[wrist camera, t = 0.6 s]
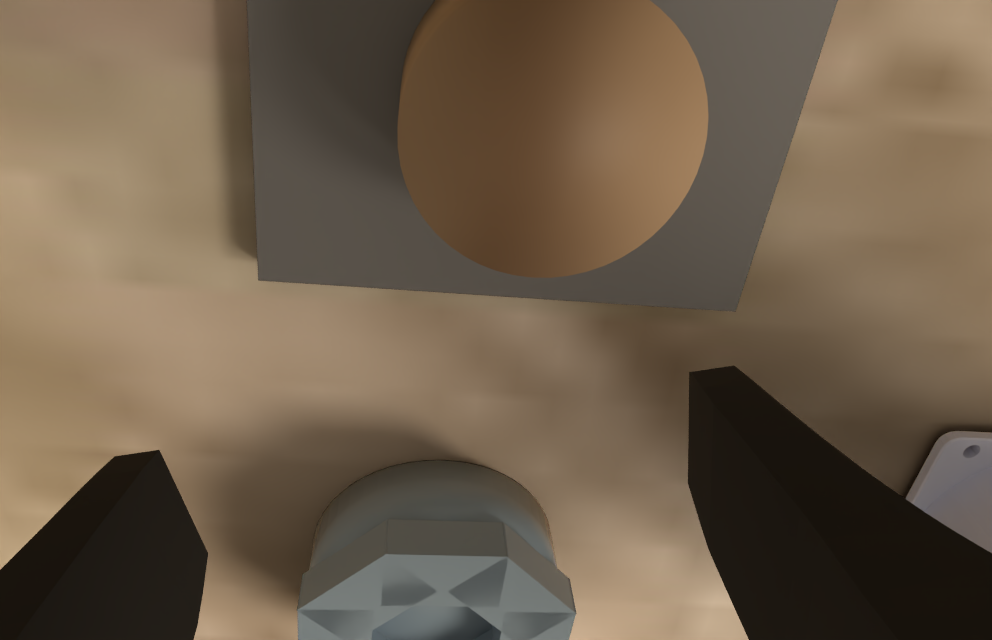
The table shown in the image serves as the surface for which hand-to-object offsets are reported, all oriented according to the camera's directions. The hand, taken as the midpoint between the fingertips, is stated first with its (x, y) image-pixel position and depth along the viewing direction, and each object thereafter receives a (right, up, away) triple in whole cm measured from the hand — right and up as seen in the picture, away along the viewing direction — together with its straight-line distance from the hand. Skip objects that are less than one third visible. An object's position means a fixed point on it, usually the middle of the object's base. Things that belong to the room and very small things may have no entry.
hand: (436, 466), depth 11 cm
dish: (-1, -5, +15) cm, 16 cm away
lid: (+2, +7, +6) cm, 9 cm away
